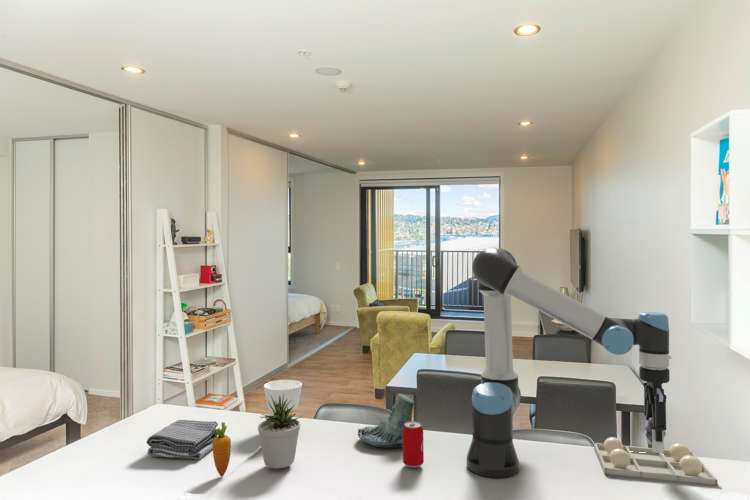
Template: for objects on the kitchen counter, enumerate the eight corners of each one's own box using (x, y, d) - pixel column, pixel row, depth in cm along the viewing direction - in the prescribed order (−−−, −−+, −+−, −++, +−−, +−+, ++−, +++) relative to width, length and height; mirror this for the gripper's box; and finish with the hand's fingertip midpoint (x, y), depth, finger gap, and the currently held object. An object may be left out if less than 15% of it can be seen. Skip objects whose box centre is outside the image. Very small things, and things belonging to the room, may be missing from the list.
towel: (174, 439, 168) (174, 416, 168) (223, 443, 165) (223, 420, 165) (145, 458, 153) (144, 432, 153) (198, 462, 150) (198, 437, 150)
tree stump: (360, 424, 178) (380, 379, 179) (411, 449, 176) (431, 403, 176) (352, 439, 160) (374, 389, 161) (408, 468, 157) (431, 416, 158)
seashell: (668, 454, 138) (668, 419, 138) (648, 453, 139) (647, 417, 139) (661, 447, 143) (661, 412, 143) (641, 446, 144) (641, 411, 144)
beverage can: (426, 461, 149) (426, 422, 149) (419, 470, 143) (419, 429, 143) (407, 458, 152) (406, 419, 152) (399, 466, 146) (399, 426, 146)
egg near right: (683, 478, 137) (682, 458, 137) (676, 469, 142) (676, 451, 142) (705, 480, 135) (705, 461, 135) (698, 472, 140) (697, 453, 140)
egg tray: (604, 474, 140) (604, 467, 140) (594, 448, 158) (593, 442, 158) (717, 487, 132) (717, 479, 132) (692, 458, 151) (692, 451, 151)
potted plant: (311, 461, 150) (311, 395, 150) (274, 476, 140) (274, 406, 140) (286, 449, 158) (286, 387, 158) (249, 463, 148) (249, 397, 148)
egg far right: (672, 464, 145) (672, 446, 145) (667, 457, 151) (666, 439, 151) (693, 466, 144) (693, 448, 144) (686, 458, 149) (686, 441, 149)
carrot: (220, 482, 136) (220, 428, 136) (208, 477, 139) (208, 424, 139) (234, 475, 141) (234, 422, 141) (222, 471, 143) (222, 419, 143)
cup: (257, 434, 172) (257, 389, 172) (272, 420, 185) (271, 378, 185) (295, 436, 170) (294, 390, 170) (307, 422, 183) (306, 380, 183)
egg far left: (605, 457, 150) (605, 440, 150) (602, 450, 155) (602, 433, 155) (625, 459, 149) (625, 441, 149) (621, 452, 154) (621, 435, 154)
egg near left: (611, 470, 141) (611, 451, 141) (607, 462, 147) (607, 444, 147) (632, 472, 140) (632, 454, 140) (627, 464, 145) (627, 446, 145)
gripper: (679, 375, 131) (680, 462, 131) (659, 360, 149) (660, 437, 149) (648, 373, 133) (649, 459, 133) (632, 359, 151) (632, 435, 151)
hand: (654, 447), depth 141 cm, fingers closed on seashell, 5 cm apart
